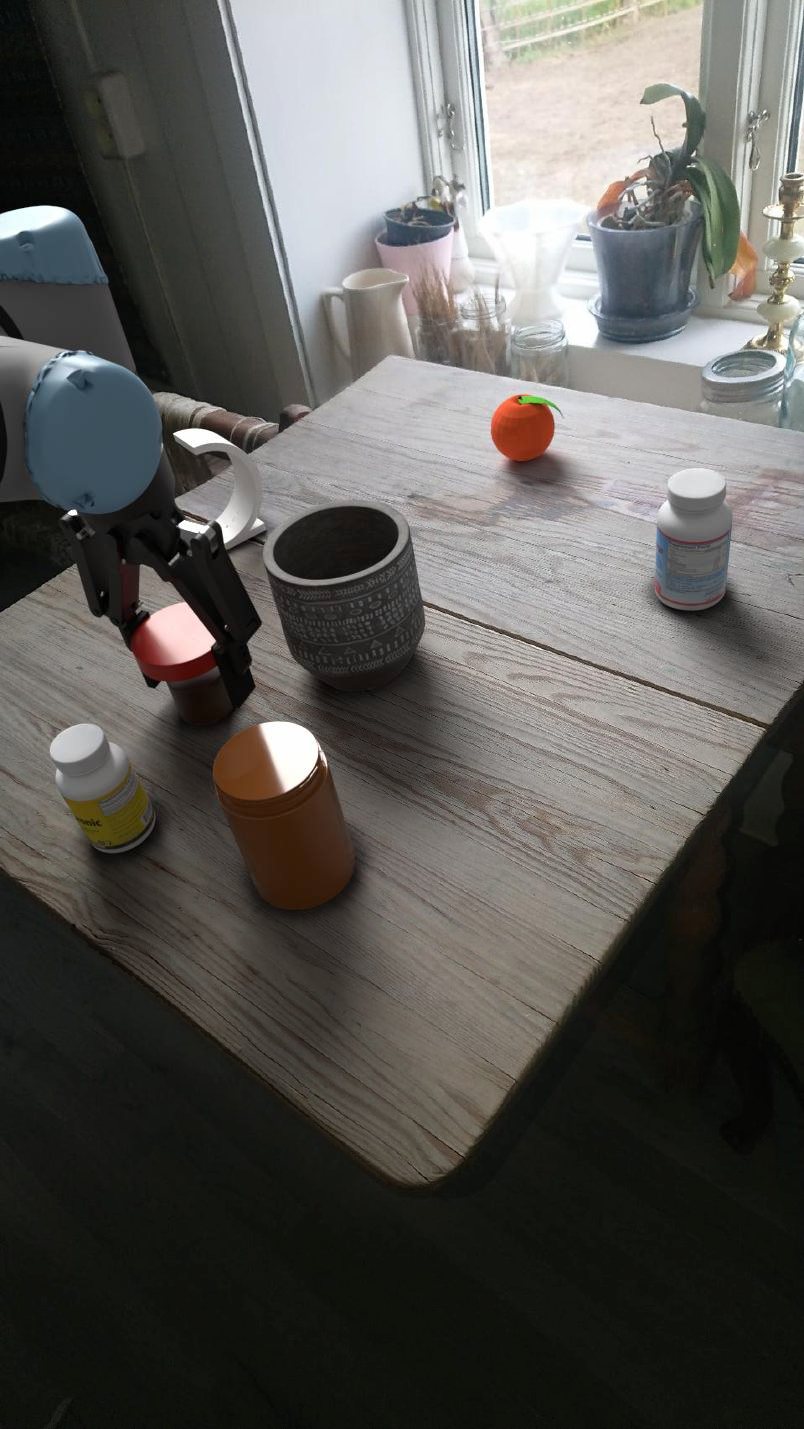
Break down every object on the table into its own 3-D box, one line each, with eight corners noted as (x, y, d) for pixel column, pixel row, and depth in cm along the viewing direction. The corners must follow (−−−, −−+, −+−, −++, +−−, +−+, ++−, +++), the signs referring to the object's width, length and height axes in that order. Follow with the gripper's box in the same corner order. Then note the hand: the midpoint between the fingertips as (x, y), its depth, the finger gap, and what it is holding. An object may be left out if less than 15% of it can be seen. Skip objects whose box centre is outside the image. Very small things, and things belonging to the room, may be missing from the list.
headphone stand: (206, 534, 106) (172, 433, 98) (253, 510, 108) (224, 410, 100) (226, 550, 103) (193, 447, 95) (274, 525, 105) (246, 423, 97)
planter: (351, 603, 93) (324, 486, 84) (457, 638, 87) (439, 516, 78) (268, 680, 87) (230, 562, 78) (376, 724, 81) (348, 601, 72)
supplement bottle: (77, 831, 77) (26, 745, 70) (135, 791, 79) (91, 704, 73) (111, 868, 74) (61, 781, 67) (170, 825, 76) (127, 737, 69)
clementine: (569, 439, 109) (567, 379, 104) (562, 472, 104) (559, 411, 100) (498, 441, 111) (493, 382, 106) (488, 473, 107) (482, 413, 102)
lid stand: (167, 718, 85) (153, 684, 82) (199, 679, 88) (186, 645, 86) (216, 730, 83) (203, 696, 80) (247, 690, 86) (236, 655, 84)
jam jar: (233, 894, 70) (186, 788, 62) (285, 816, 75) (246, 708, 67) (325, 923, 67) (287, 815, 59) (372, 840, 72) (343, 730, 64)
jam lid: (247, 658, 79) (241, 641, 78) (150, 696, 78) (142, 679, 76) (219, 605, 85) (213, 589, 84) (128, 640, 83) (121, 623, 82)
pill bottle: (665, 567, 90) (670, 458, 82) (732, 578, 87) (744, 467, 80) (645, 606, 86) (648, 497, 79) (715, 619, 84) (725, 507, 76)
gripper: (260, 436, 67) (326, 680, 82) (31, 414, 75) (130, 640, 91) (201, 494, 62) (283, 741, 78) (-36, 464, 71) (81, 693, 86)
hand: (201, 686), depth 84 cm, fingers closed on jam lid, 8 cm apart
